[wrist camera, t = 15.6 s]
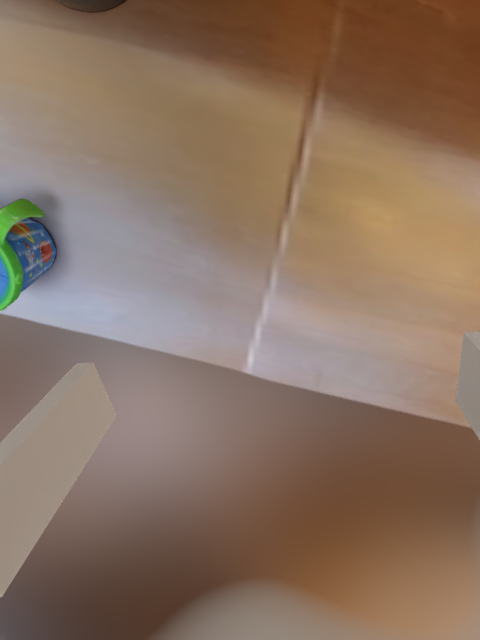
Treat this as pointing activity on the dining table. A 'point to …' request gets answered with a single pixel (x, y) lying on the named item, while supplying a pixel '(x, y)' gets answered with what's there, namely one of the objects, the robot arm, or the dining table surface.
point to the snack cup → (22, 249)
